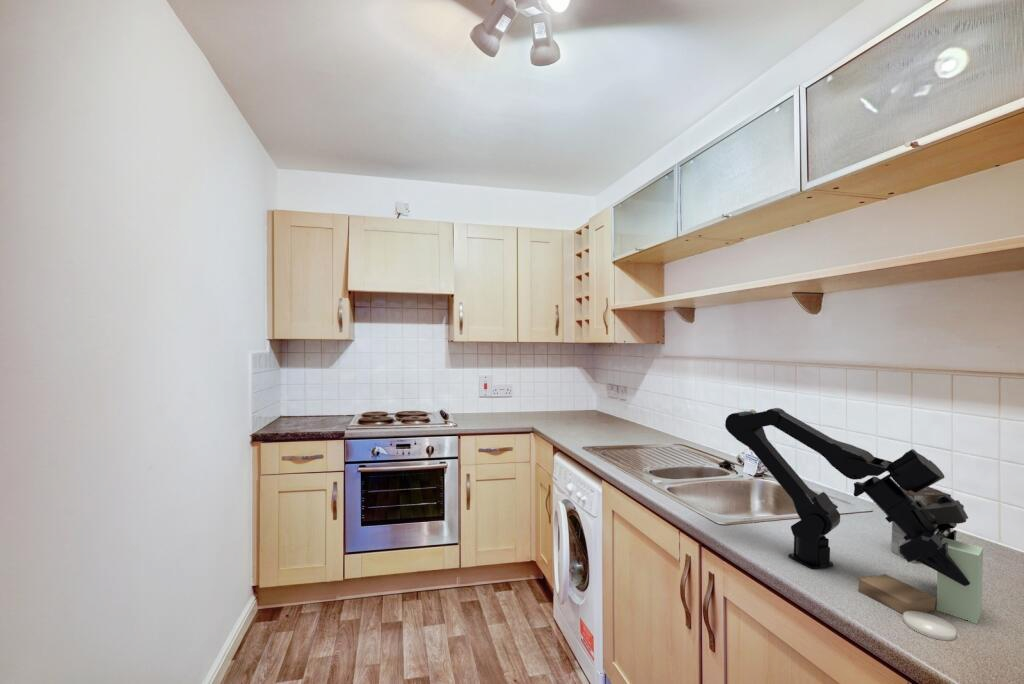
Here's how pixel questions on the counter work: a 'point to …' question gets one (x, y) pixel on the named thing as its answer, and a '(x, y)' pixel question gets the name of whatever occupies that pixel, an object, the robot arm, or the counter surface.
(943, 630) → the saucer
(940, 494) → the coffee box
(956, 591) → the carton
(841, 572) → the counter surface
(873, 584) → the podium
